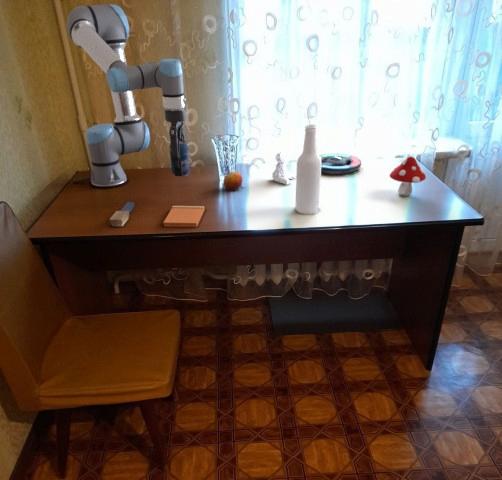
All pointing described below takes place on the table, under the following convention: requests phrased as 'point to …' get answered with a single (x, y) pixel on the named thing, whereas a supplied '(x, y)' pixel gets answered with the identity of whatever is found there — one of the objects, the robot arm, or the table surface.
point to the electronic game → (339, 163)
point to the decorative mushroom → (407, 175)
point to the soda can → (182, 158)
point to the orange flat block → (184, 216)
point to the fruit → (233, 181)
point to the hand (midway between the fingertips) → (181, 172)
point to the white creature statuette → (281, 170)
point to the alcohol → (308, 174)
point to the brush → (121, 215)
